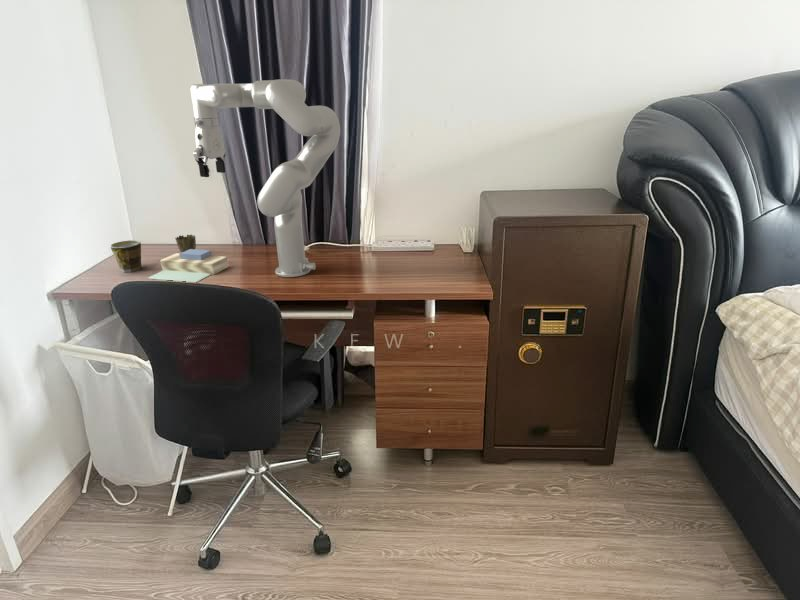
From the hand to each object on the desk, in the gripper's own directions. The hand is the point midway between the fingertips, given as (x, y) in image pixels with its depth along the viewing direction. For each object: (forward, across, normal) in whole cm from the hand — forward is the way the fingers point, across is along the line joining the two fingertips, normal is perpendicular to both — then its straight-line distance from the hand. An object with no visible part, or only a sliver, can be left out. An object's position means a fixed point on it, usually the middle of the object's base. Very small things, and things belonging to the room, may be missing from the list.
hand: (213, 174), depth 183 cm
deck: (+34, -6, +9) cm, 36 cm away
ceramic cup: (+35, -13, +32) cm, 49 cm away
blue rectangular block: (+30, -4, +9) cm, 32 cm away
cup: (+35, +8, +22) cm, 42 cm away
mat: (+34, -15, +9) cm, 38 cm away
